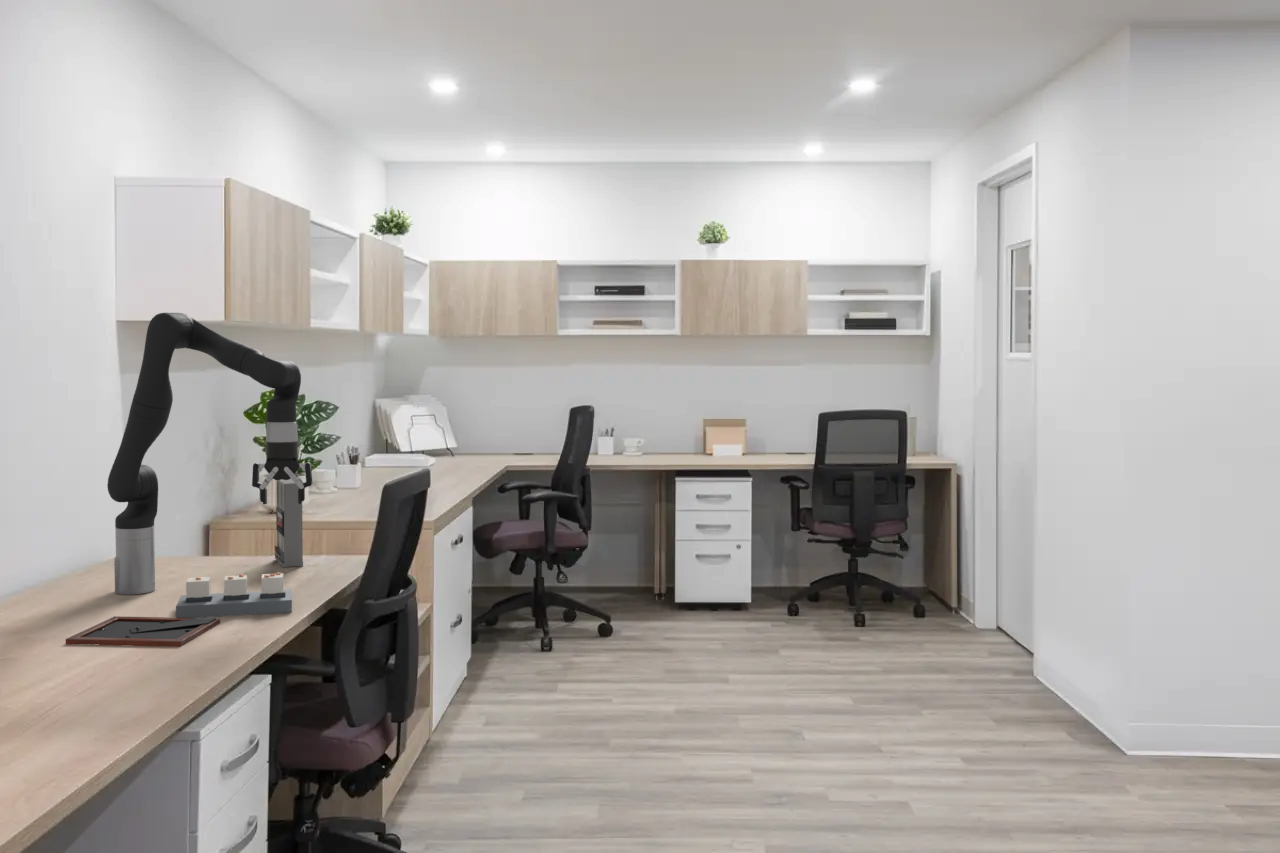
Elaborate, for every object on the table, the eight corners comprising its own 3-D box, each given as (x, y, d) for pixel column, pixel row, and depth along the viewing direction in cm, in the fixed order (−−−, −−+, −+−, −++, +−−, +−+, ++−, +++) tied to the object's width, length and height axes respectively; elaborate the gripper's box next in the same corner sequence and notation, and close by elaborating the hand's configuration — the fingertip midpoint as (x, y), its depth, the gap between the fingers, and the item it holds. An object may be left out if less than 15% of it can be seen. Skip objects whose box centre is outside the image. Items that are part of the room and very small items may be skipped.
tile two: (224, 597, 253) (224, 578, 253) (225, 593, 258) (225, 574, 257) (246, 596, 255) (246, 577, 254) (247, 592, 259) (247, 573, 259)
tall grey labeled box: (274, 559, 320) (273, 478, 318) (294, 558, 323) (294, 478, 321) (281, 568, 308) (281, 483, 306) (303, 566, 310) (302, 483, 309)
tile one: (186, 599, 250) (186, 580, 250) (188, 595, 255) (188, 576, 255) (208, 598, 252) (208, 579, 252) (210, 594, 257) (210, 575, 256)
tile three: (261, 595, 256) (261, 576, 255) (262, 591, 260) (262, 572, 260) (283, 594, 257) (283, 575, 257) (283, 590, 262) (283, 571, 262)
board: (176, 618, 247) (175, 606, 246) (181, 607, 258) (181, 595, 258) (291, 612, 255) (291, 599, 255) (291, 601, 266) (291, 589, 266)
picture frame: (220, 625, 243) (114, 623, 244) (220, 617, 243) (114, 615, 244) (180, 649, 223) (65, 647, 224) (180, 640, 223) (65, 637, 224)
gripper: (249, 441, 257) (250, 506, 258) (309, 440, 260) (310, 505, 261) (254, 438, 265) (255, 502, 266) (313, 438, 268) (313, 501, 268)
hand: (282, 503), depth 263 cm, fingers open, 8 cm apart
